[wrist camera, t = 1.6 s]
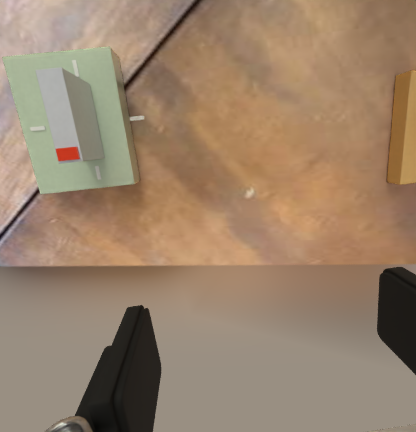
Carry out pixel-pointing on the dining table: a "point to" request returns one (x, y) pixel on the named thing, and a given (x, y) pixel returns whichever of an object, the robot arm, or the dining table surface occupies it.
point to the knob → (70, 115)
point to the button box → (403, 131)
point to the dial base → (105, 112)
